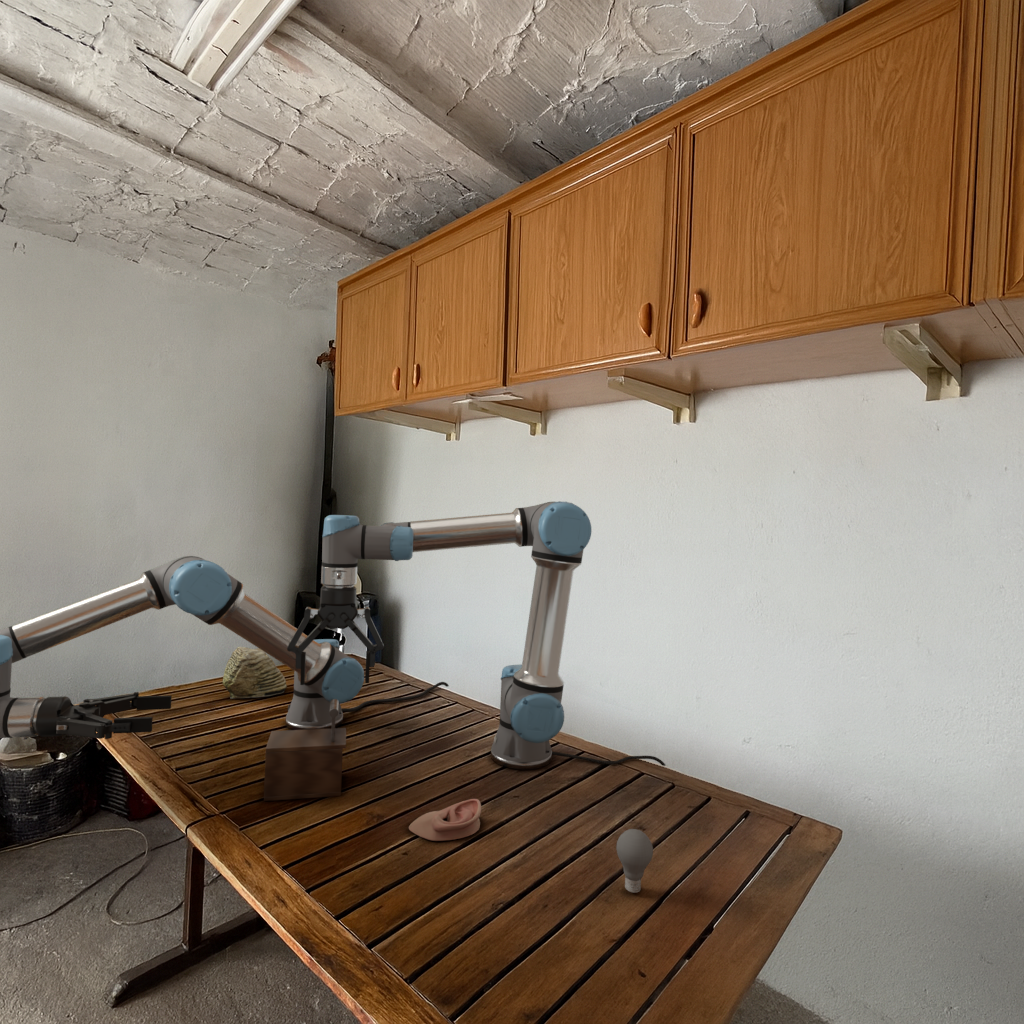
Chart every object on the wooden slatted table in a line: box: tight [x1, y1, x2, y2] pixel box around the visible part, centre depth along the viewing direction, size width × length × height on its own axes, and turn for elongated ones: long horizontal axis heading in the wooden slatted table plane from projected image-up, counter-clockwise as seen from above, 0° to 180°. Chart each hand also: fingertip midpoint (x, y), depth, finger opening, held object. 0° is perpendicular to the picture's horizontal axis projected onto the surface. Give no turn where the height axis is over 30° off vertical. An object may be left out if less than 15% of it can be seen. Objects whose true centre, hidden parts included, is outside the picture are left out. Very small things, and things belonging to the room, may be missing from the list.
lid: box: [265, 699, 347, 753], centre depth 137 cm, size 16×10×8 cm, turn 105°
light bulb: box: [615, 828, 654, 894], centre depth 106 cm, size 6×6×10 cm
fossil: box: [222, 646, 288, 699], centre depth 198 cm, size 9×18×15 cm, turn 132°
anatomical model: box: [408, 798, 482, 842], centre depth 124 cm, size 13×4×12 cm
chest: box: [263, 748, 344, 802], centre depth 137 cm, size 15×10×10 cm, turn 104°
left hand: (162, 712), depth 130 cm, fingers open, 13 cm apart
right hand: (335, 682), depth 139 cm, fingers open, 13 cm apart
